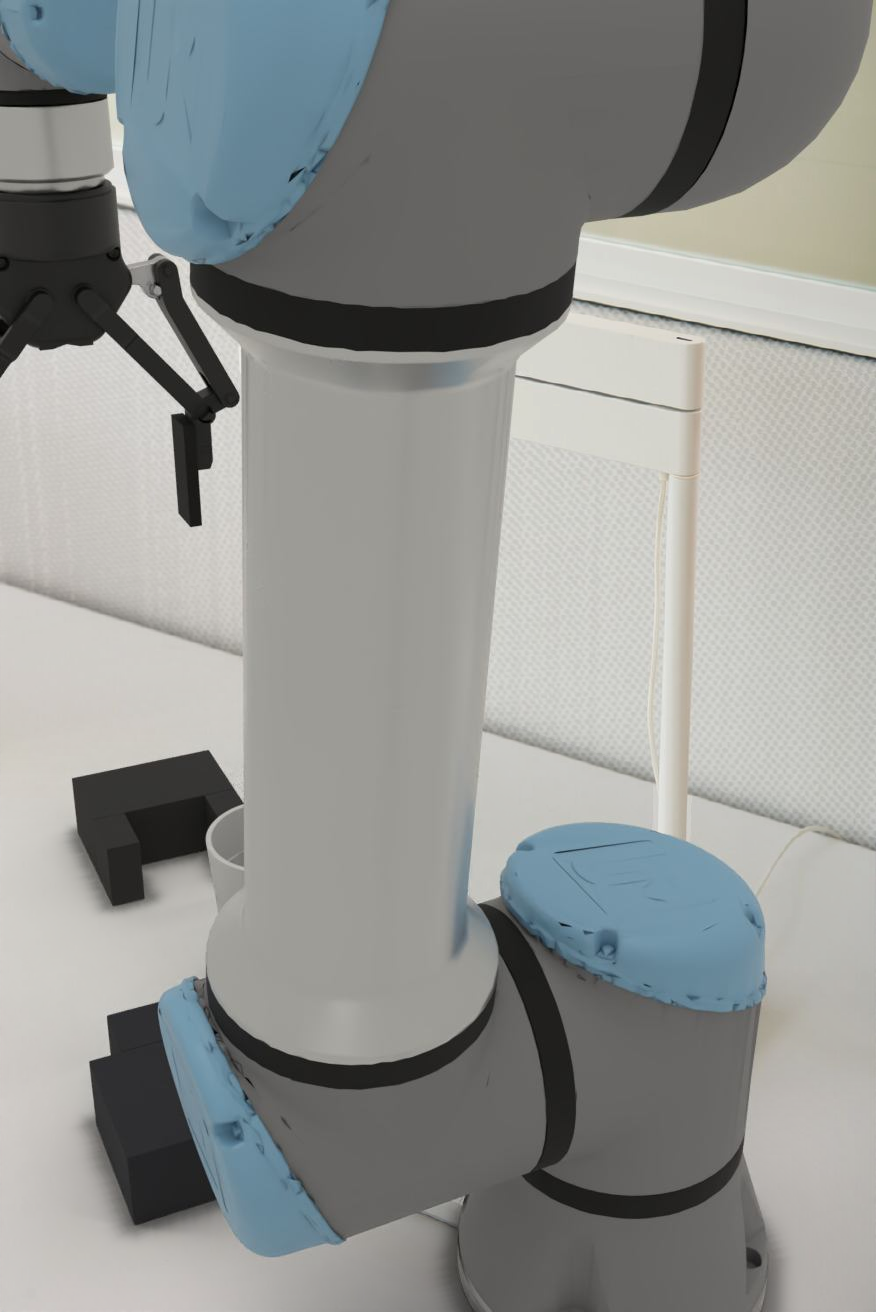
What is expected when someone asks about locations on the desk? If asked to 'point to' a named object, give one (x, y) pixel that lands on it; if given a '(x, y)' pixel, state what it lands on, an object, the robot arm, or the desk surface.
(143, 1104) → the tab pad
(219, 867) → the cup
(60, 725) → the desk surface
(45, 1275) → the desk surface
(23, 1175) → the desk surface
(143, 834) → the notch pad
